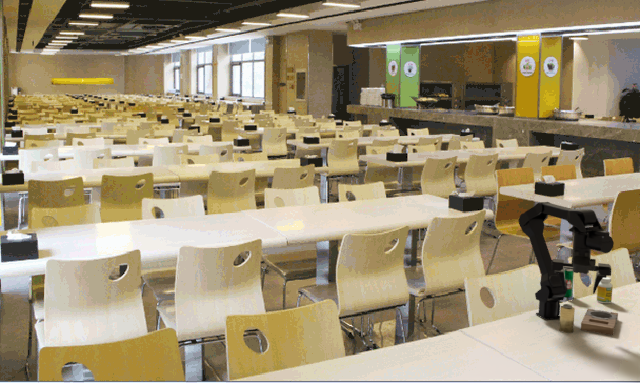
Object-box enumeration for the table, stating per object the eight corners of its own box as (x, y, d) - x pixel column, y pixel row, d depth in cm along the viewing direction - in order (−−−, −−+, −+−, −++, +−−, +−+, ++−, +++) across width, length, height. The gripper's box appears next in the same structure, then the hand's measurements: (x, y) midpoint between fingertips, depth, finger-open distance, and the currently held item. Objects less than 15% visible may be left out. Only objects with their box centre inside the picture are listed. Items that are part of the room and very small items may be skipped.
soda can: (558, 297, 255) (560, 267, 254) (558, 293, 260) (560, 264, 258) (572, 298, 253) (573, 269, 252) (572, 295, 258) (574, 266, 256)
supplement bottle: (601, 299, 253) (603, 275, 252) (614, 302, 249) (616, 278, 248) (593, 301, 251) (595, 277, 249) (606, 304, 246) (607, 280, 245)
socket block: (613, 335, 213) (613, 328, 213) (580, 330, 218) (581, 322, 218) (617, 319, 229) (618, 313, 228) (587, 315, 234) (587, 308, 233)
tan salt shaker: (564, 333, 215) (566, 307, 213) (556, 328, 219) (558, 303, 218) (576, 332, 216) (577, 306, 215) (567, 327, 220) (569, 302, 219)
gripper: (551, 249, 212) (548, 295, 214) (613, 254, 205) (610, 302, 207) (552, 242, 222) (550, 286, 224) (612, 247, 215) (608, 292, 217)
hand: (578, 291), depth 218 cm, fingers open, 9 cm apart
